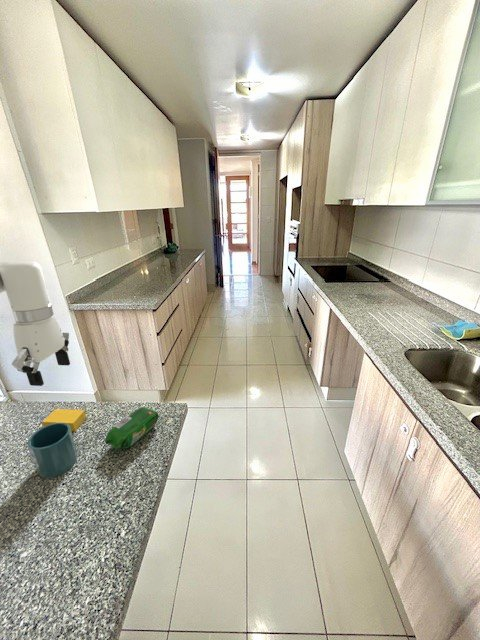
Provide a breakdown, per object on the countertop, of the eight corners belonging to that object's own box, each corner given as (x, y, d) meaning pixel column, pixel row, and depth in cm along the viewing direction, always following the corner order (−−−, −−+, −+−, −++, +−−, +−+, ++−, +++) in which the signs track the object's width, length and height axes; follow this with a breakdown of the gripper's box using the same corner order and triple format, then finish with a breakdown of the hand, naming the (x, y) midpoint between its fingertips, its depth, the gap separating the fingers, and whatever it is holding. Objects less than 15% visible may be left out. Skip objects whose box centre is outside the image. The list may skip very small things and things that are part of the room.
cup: (29, 477, 61) (18, 448, 57) (54, 448, 68) (45, 421, 65) (63, 479, 60) (54, 450, 57) (84, 450, 68) (77, 423, 65)
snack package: (101, 450, 68) (97, 434, 66) (146, 413, 81) (144, 400, 79) (120, 461, 65) (116, 445, 63) (163, 421, 78) (162, 407, 76)
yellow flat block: (44, 430, 74) (42, 421, 73) (58, 416, 79) (55, 408, 78) (75, 431, 74) (72, 423, 73) (86, 418, 79) (84, 410, 78)
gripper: (46, 302, 71) (61, 357, 77) (-16, 326, 55) (9, 393, 61) (72, 303, 71) (85, 358, 77) (18, 327, 55) (39, 395, 61)
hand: (51, 374), depth 69 cm, fingers open, 9 cm apart
